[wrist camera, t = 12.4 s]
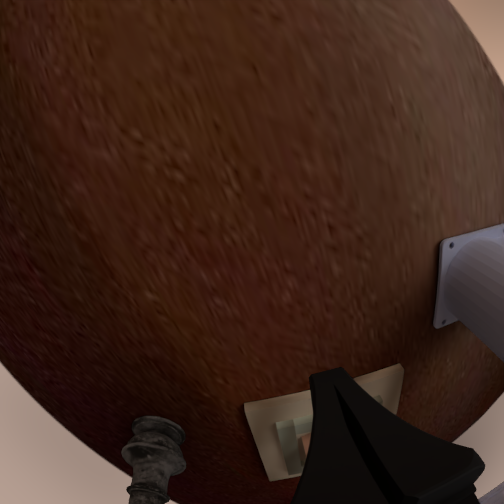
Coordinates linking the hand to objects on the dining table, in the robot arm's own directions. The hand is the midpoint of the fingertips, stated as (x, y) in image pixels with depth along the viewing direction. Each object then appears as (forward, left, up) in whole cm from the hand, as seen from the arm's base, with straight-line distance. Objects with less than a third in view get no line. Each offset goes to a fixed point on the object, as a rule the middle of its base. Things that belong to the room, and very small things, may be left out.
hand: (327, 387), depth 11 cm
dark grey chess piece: (+14, +13, -10) cm, 21 cm away
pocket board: (-2, +17, -9) cm, 20 cm away
